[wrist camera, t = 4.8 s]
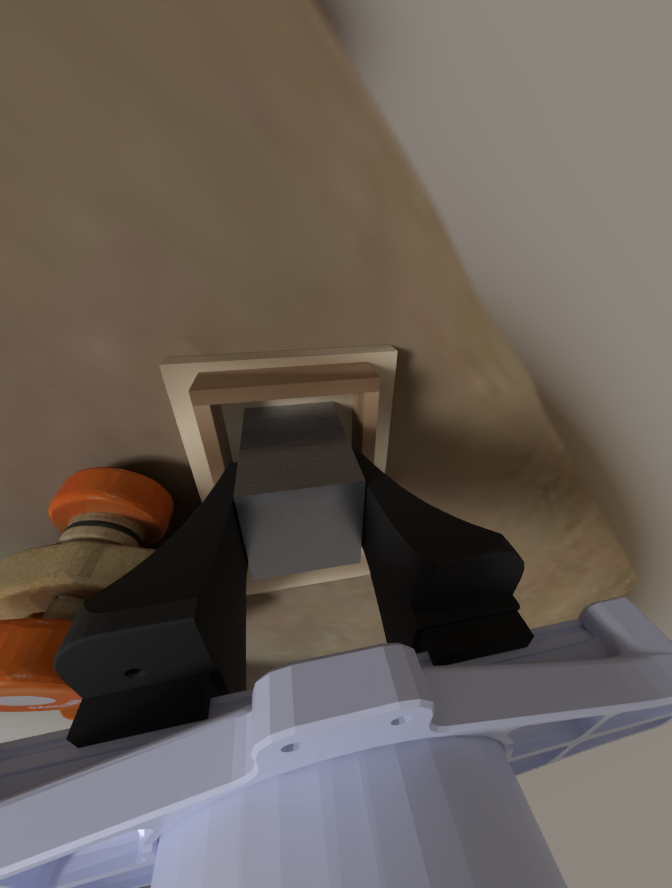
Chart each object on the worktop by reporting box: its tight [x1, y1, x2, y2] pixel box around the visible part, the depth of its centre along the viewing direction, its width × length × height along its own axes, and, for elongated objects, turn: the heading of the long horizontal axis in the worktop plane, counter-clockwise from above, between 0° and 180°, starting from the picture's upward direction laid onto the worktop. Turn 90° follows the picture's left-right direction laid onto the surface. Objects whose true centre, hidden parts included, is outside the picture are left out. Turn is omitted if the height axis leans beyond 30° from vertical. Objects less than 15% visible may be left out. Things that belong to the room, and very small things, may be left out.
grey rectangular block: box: [234, 401, 366, 580], centre depth 13 cm, size 4×4×6 cm
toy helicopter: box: [0, 467, 174, 720], centre depth 18 cm, size 8×21×14 cm
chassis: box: [159, 345, 398, 595], centre depth 17 cm, size 16×10×3 cm, turn 1°
